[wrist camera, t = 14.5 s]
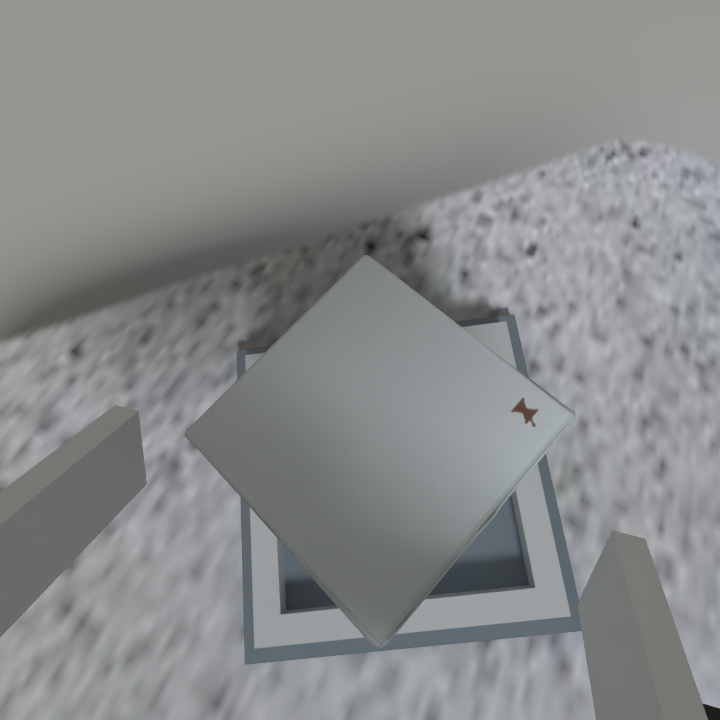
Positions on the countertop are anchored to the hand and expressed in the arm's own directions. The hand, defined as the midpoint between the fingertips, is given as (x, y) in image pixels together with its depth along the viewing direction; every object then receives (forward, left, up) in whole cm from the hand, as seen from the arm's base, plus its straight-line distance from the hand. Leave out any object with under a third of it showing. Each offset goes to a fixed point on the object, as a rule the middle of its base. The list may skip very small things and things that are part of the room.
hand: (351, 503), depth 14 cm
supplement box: (-1, -2, -11) cm, 11 cm away
